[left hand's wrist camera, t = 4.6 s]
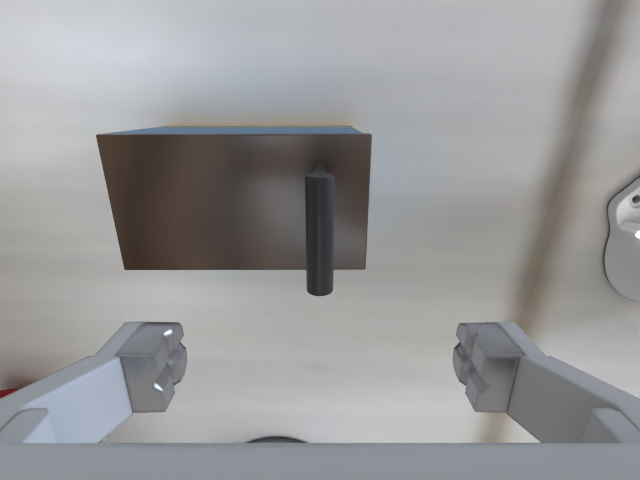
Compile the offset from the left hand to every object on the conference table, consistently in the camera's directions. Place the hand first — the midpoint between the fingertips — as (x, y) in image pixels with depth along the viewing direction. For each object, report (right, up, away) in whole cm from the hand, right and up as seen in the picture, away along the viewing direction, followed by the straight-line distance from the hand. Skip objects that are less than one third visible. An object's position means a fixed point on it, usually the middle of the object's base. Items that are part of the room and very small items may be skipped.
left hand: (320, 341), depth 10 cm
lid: (-6, +6, +15) cm, 17 cm away
